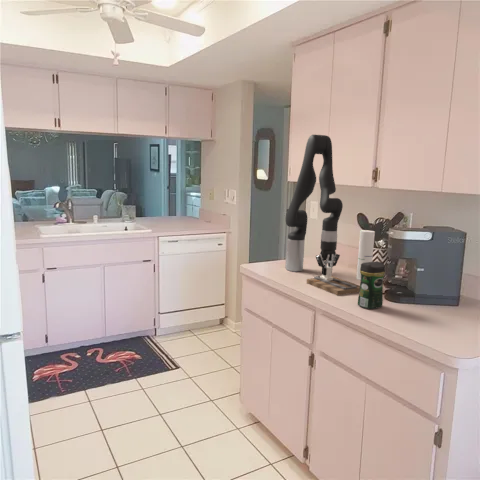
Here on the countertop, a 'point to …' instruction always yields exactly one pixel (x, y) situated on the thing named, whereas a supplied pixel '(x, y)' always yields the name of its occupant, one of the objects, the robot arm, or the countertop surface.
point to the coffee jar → (371, 285)
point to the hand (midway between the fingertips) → (326, 274)
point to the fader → (327, 274)
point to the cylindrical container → (365, 249)
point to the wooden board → (334, 285)
